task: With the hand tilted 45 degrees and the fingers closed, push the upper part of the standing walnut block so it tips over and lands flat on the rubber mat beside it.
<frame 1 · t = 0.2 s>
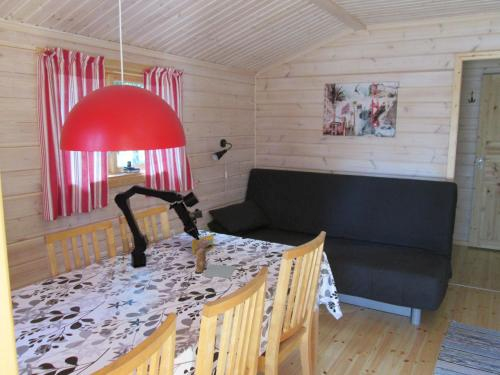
hand: (198, 237, 222), 15 cm above the table, tool tilted 30°, fingers open, 9 cm apart
mat: (219, 270, 216), on the table
candy box: (202, 251, 248), on the table
walnut block: (201, 269, 217), on the table
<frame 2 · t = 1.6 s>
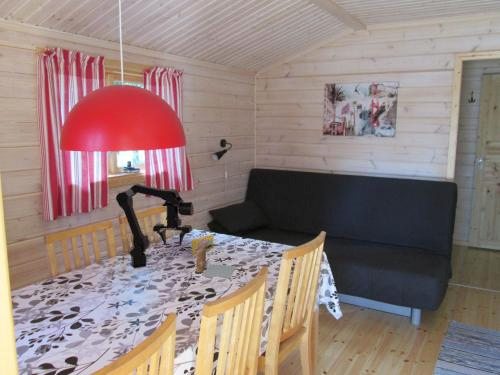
hand: (172, 244, 218), 12 cm above the table, tool pointing down, fingers open, 8 cm apart
nothing on the table moved.
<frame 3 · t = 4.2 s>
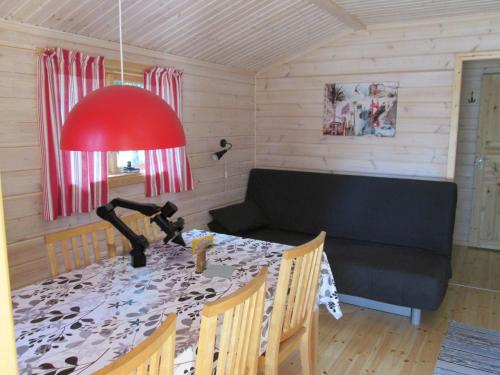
hand: (185, 246, 216), 12 cm above the table, tool tilted 45°, fingers closed
nothing on the table moved.
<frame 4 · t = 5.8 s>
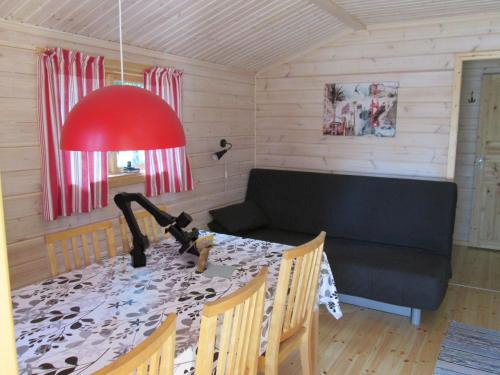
hand: (200, 256, 216), 7 cm above the table, tool tilted 45°, fingers closed
walnut block: (201, 269, 217), on the table, tilted 12°
everything else where it was.
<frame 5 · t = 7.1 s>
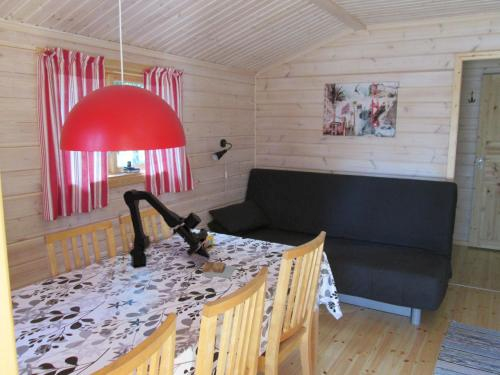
hand: (208, 257, 216), 7 cm above the table, tool tilted 45°, fingers closed
walnut block: (204, 266, 217), point 2 cm above the table, tilted 90°, touching mat
everything else where it was.
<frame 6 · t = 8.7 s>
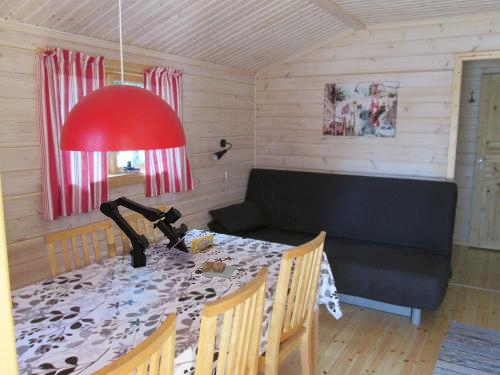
hand: (188, 252, 217), 9 cm above the table, tool tilted 45°, fingers closed
nothing on the table moved.
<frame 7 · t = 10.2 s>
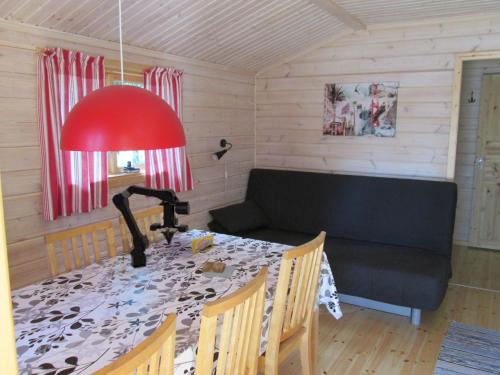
hand: (169, 244, 219), 12 cm above the table, tool pointing down, fingers closed
nothing on the table moved.
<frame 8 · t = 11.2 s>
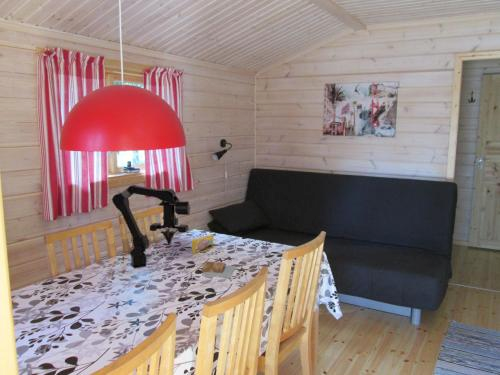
hand: (169, 244, 219), 12 cm above the table, tool pointing down, fingers closed
nothing on the table moved.
at the end: walnut block tilted 90°; walnut block touching mat; walnut block inside the target area (3.4 cm from its centre), point 1.8 cm above the table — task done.
